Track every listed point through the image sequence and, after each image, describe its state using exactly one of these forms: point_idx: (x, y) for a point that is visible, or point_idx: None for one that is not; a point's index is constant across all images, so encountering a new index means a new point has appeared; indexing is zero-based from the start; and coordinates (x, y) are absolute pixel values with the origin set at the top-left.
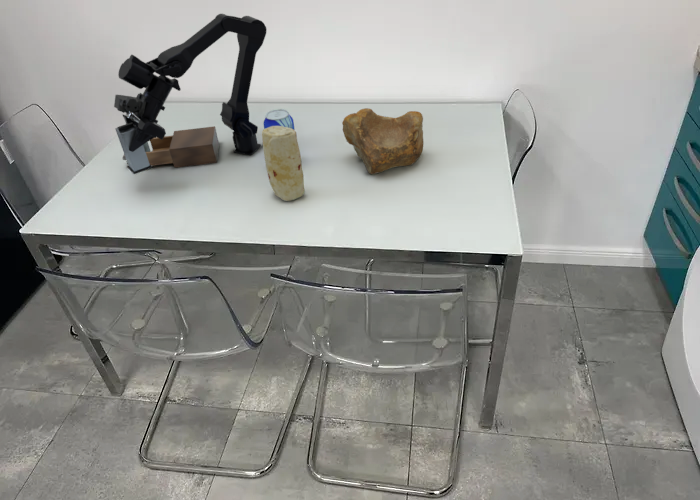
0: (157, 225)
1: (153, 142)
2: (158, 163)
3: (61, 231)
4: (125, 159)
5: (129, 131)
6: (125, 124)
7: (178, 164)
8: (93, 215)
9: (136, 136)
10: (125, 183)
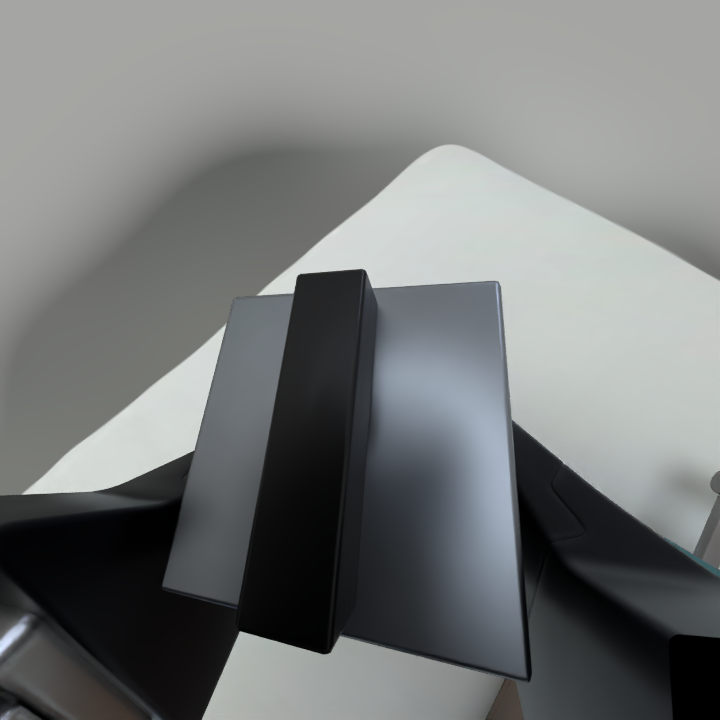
0: (207, 385)
1: None
2: None
3: (374, 200)
4: (716, 480)
5: (203, 421)
6: (338, 441)
7: (503, 700)
8: (385, 271)
9: (164, 469)
10: (520, 409)
